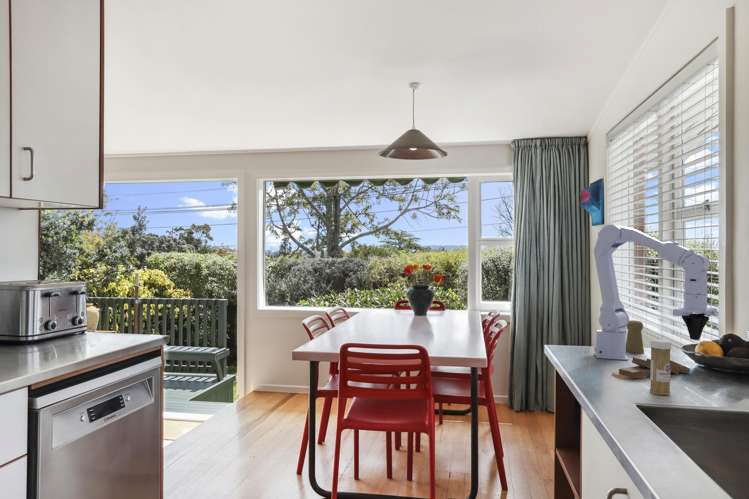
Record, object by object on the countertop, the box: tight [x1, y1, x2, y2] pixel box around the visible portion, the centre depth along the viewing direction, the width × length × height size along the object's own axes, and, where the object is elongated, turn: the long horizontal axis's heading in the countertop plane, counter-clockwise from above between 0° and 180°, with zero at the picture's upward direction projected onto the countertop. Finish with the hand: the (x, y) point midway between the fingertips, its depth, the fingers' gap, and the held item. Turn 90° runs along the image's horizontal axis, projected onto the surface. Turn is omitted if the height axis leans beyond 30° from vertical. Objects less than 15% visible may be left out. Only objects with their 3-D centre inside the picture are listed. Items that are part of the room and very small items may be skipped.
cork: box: [626, 319, 645, 355], centre depth 176 cm, size 6×6×11 cm
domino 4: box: [645, 358, 681, 375], centre depth 147 cm, size 2×4×8 cm
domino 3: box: [618, 365, 650, 379], centre depth 143 cm, size 2×4×8 cm
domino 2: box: [631, 357, 651, 369], centre depth 145 cm, size 2×4×8 cm
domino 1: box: [611, 371, 648, 380], centre depth 144 cm, size 2×4×8 cm
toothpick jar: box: [649, 338, 672, 396], centre depth 127 cm, size 5×5×14 cm
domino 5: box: [670, 359, 691, 374], centre depth 148 cm, size 2×4×8 cm
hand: (694, 339), depth 150 cm, fingers closed
